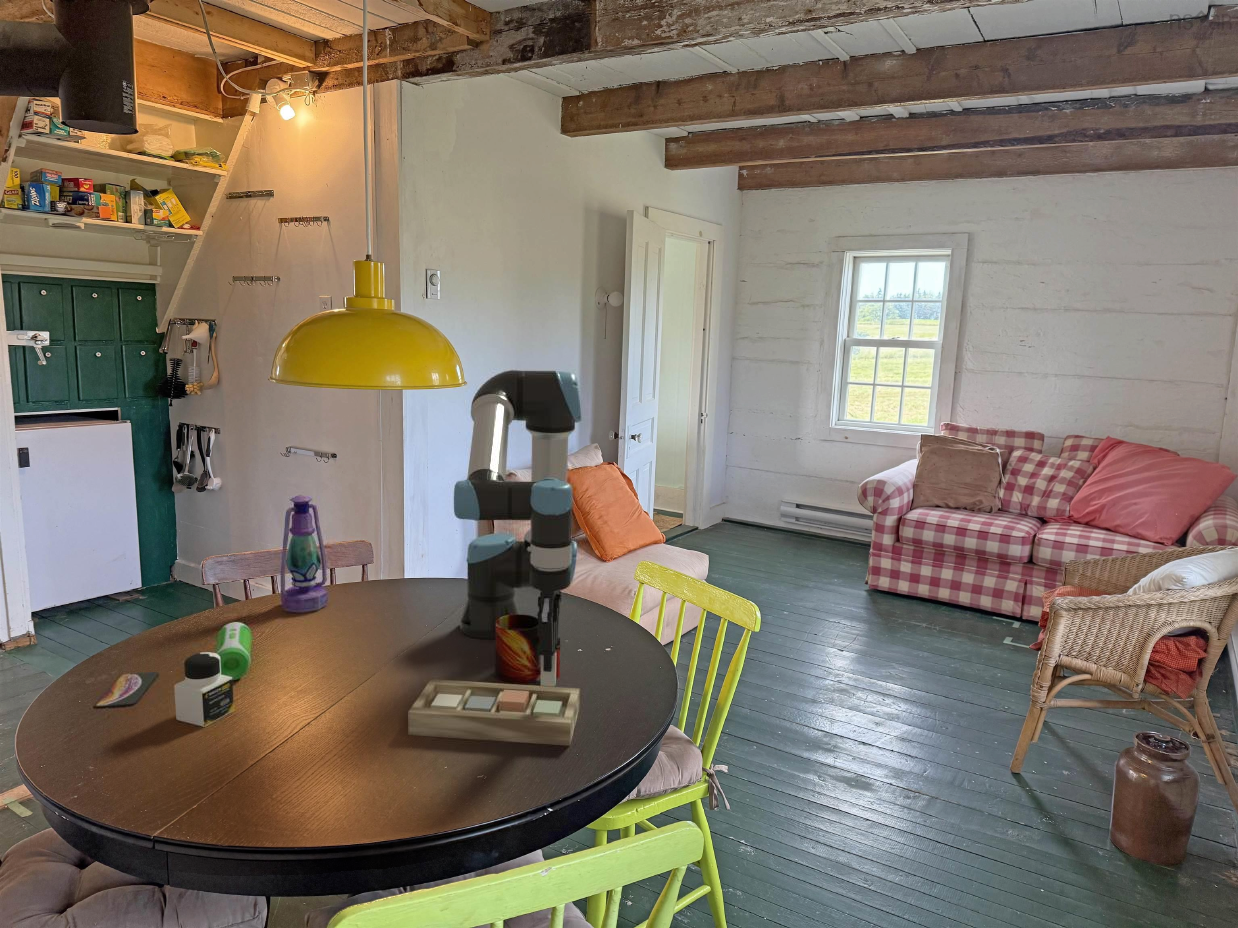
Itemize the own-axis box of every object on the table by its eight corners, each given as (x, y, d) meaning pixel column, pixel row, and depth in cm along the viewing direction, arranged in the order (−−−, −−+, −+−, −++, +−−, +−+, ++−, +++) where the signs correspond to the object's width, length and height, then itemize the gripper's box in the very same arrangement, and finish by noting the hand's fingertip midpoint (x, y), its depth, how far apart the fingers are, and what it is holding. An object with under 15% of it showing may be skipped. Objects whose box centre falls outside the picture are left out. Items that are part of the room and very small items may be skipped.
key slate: (471, 705, 158) (471, 695, 158) (495, 706, 158) (495, 697, 157) (464, 717, 153) (464, 707, 153) (489, 718, 153) (490, 708, 152)
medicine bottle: (204, 727, 150) (201, 666, 148) (175, 720, 152) (171, 659, 150) (235, 711, 156) (231, 652, 154) (206, 704, 159) (203, 646, 157)
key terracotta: (504, 699, 157) (504, 689, 157) (528, 700, 157) (528, 691, 156) (498, 710, 152) (499, 700, 152) (524, 712, 152) (524, 702, 152)
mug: (559, 683, 173) (560, 630, 171) (494, 684, 171) (494, 630, 169) (558, 664, 182) (559, 613, 180) (496, 665, 181) (496, 614, 179)
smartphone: (91, 706, 155) (121, 673, 170) (92, 710, 155) (121, 677, 170) (134, 703, 157) (160, 670, 171) (135, 707, 157) (160, 674, 171)
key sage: (537, 709, 157) (537, 699, 157) (561, 711, 157) (562, 701, 156) (532, 721, 152) (533, 711, 152) (558, 723, 152) (558, 713, 152)
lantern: (296, 618, 204) (292, 502, 199) (268, 608, 210) (263, 495, 205) (340, 604, 215) (337, 494, 210) (312, 595, 221) (308, 487, 216)
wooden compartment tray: (431, 700, 163) (431, 679, 163) (579, 709, 161) (579, 688, 161) (408, 734, 150) (408, 711, 149) (570, 745, 148) (570, 722, 147)
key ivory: (438, 703, 158) (438, 693, 158) (462, 704, 158) (462, 695, 158) (431, 714, 154) (430, 704, 153) (456, 716, 153) (456, 706, 153)
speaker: (217, 652, 183) (216, 621, 181) (253, 648, 185) (251, 617, 184) (212, 685, 167) (210, 651, 165) (251, 680, 170) (249, 646, 168)
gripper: (536, 553, 156) (534, 667, 160) (523, 575, 143) (522, 698, 148) (575, 555, 155) (572, 670, 160) (565, 577, 143) (563, 701, 147)
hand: (548, 683), depth 154 cm, fingers closed
